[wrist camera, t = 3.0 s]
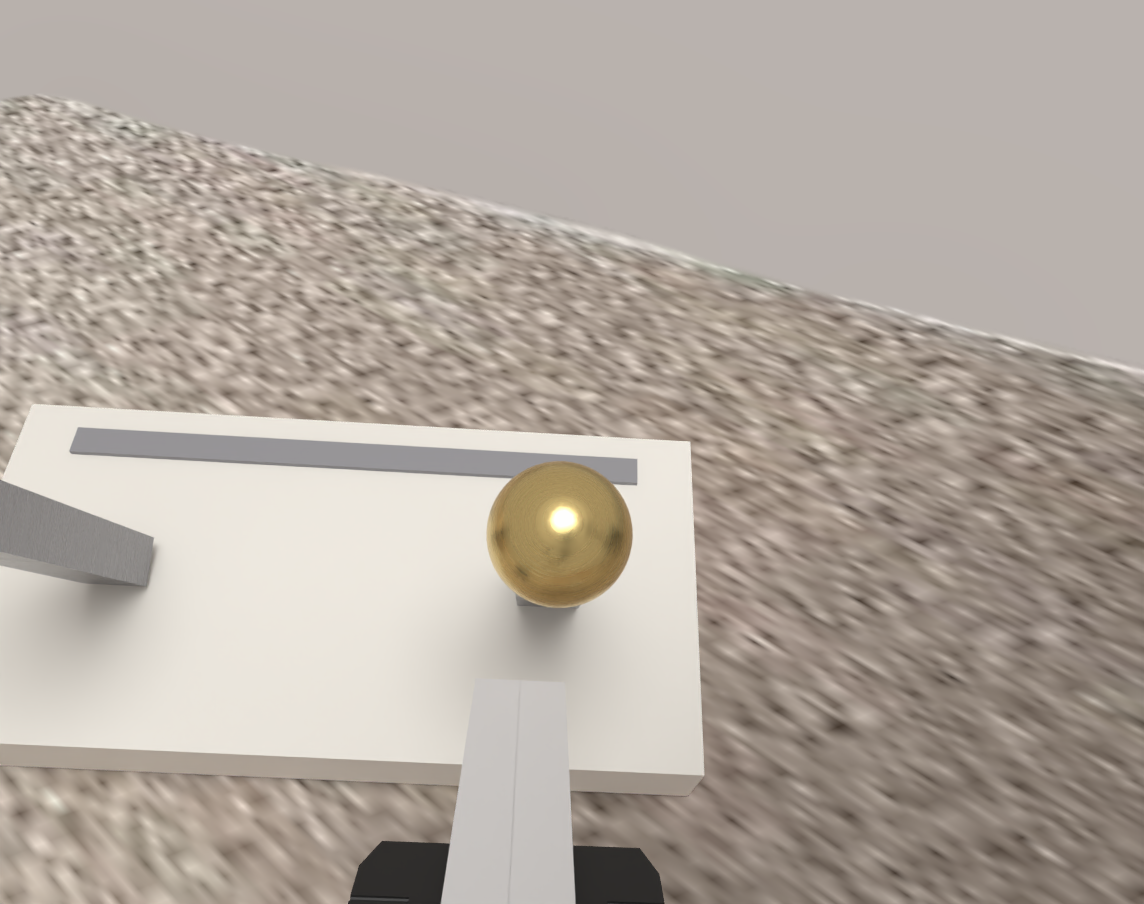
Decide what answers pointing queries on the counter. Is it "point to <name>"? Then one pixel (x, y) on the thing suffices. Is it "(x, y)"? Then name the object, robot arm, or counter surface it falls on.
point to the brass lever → (559, 535)
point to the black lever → (69, 541)
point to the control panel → (337, 604)
